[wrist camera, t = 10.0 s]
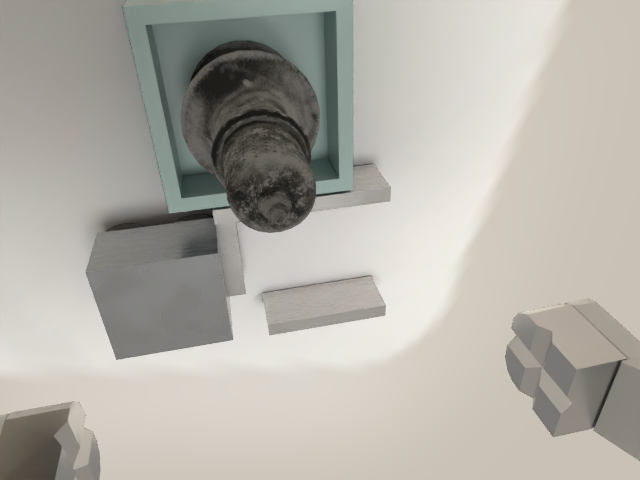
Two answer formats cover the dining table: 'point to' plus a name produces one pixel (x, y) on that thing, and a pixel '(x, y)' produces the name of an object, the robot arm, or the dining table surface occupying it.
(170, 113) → the tray
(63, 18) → the dining table surface
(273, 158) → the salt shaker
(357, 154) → the dining table surface
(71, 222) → the dining table surface
